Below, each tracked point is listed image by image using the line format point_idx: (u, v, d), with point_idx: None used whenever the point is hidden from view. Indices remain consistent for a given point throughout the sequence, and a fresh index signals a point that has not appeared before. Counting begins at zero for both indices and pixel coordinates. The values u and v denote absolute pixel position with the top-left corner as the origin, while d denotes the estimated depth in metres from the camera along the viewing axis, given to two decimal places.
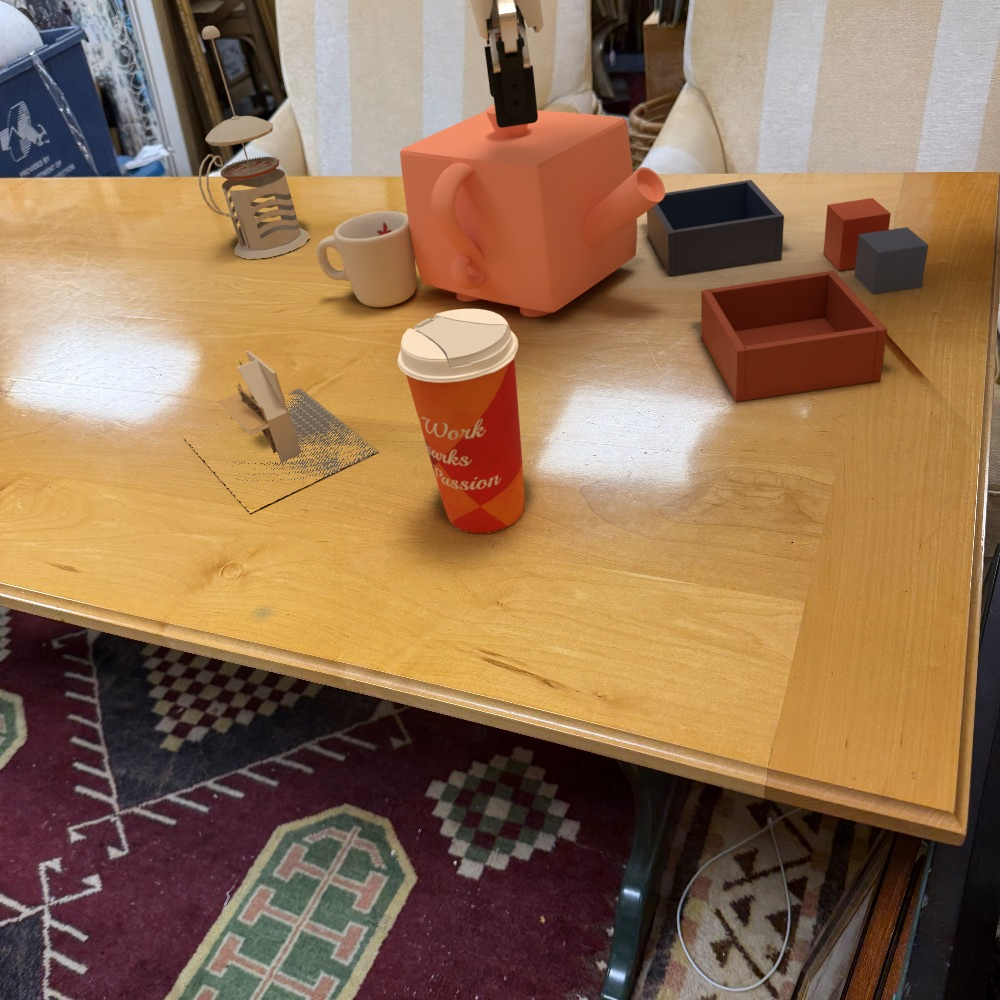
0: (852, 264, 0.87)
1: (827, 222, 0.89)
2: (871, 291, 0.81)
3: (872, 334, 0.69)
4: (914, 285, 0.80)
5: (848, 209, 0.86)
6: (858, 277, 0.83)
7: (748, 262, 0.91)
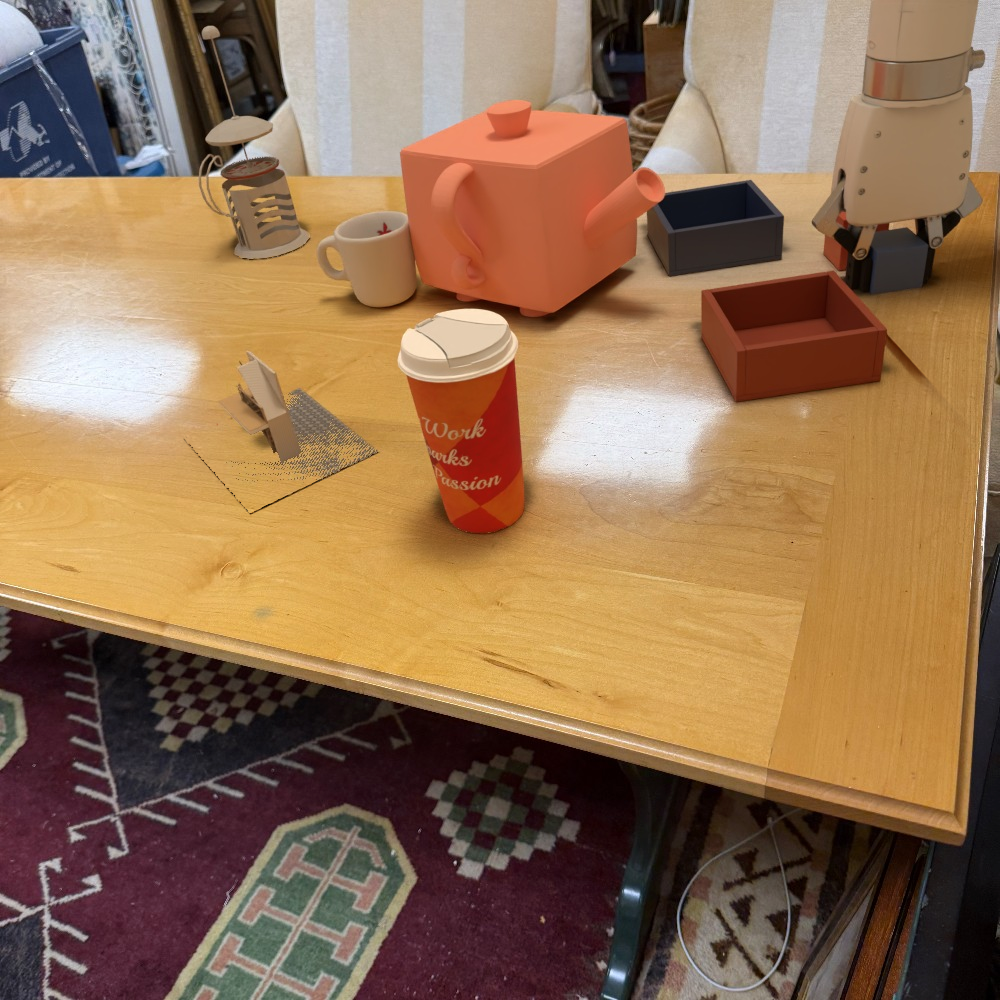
0: None
1: None
2: (871, 291, 0.81)
3: (872, 334, 0.69)
4: (914, 285, 0.80)
5: None
6: None
7: (748, 262, 0.91)
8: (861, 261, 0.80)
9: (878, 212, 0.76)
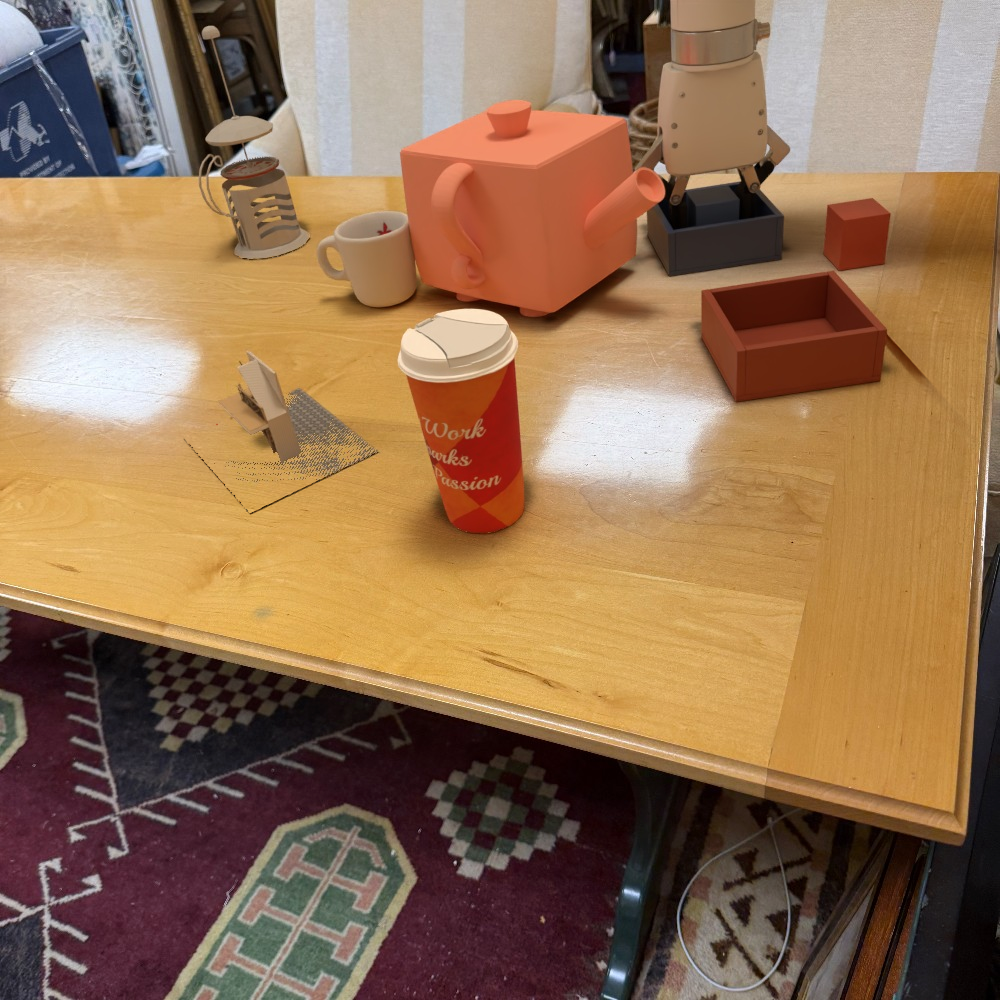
0: (852, 264, 0.87)
1: (827, 222, 0.89)
2: None
3: (872, 334, 0.69)
4: None
5: (848, 209, 0.86)
6: None
7: (748, 262, 0.91)
8: (678, 207, 0.92)
9: (691, 163, 0.89)
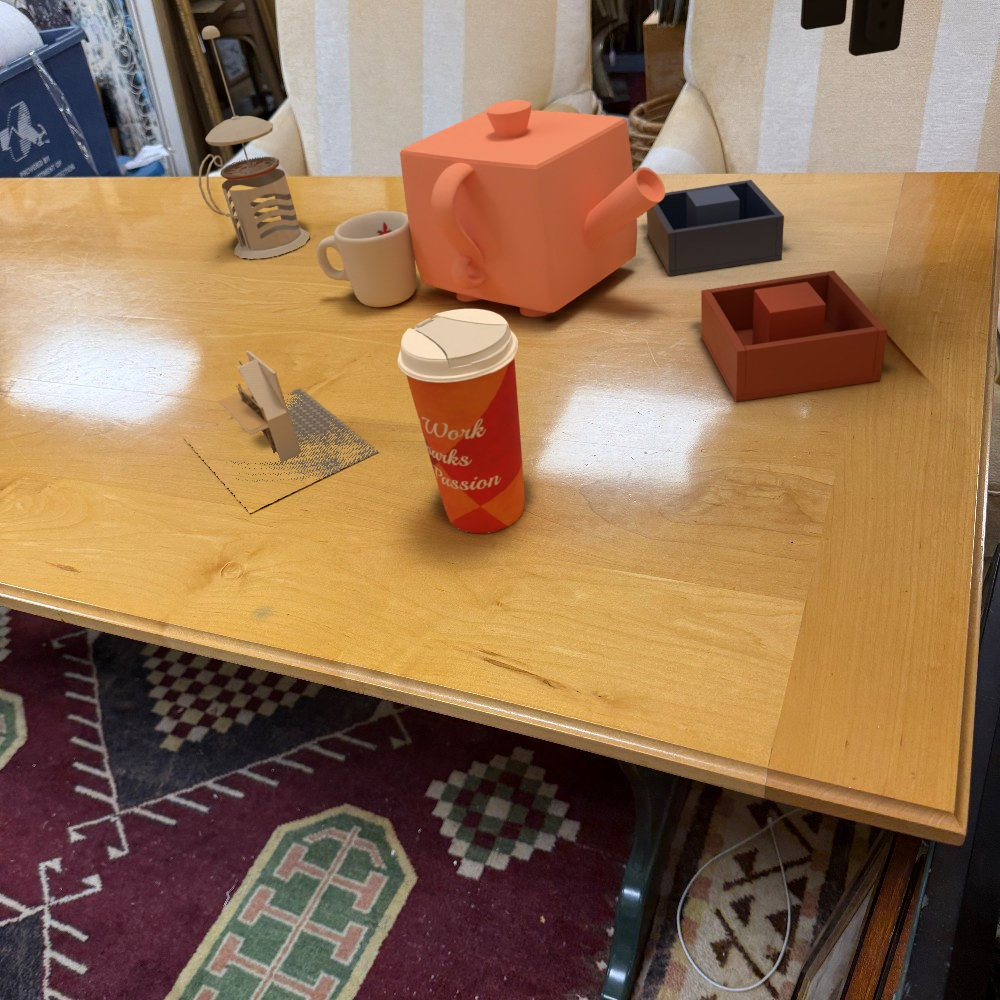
0: None
1: (754, 310, 0.75)
2: None
3: (872, 334, 0.69)
4: None
5: (777, 297, 0.73)
6: None
7: (748, 262, 0.91)
8: None
9: None
